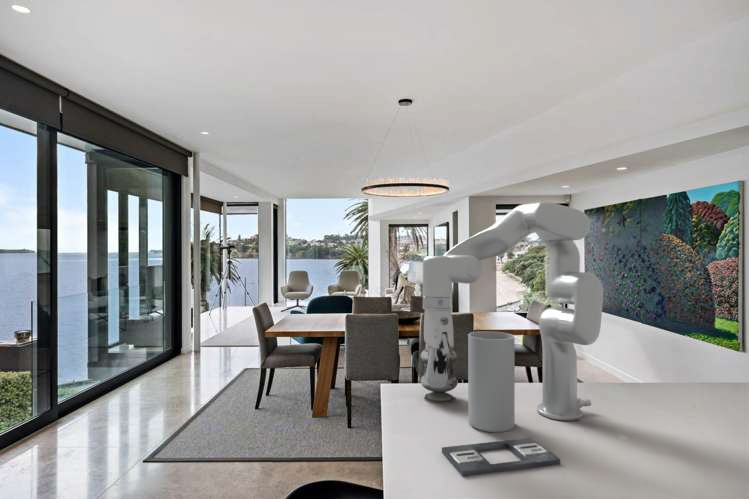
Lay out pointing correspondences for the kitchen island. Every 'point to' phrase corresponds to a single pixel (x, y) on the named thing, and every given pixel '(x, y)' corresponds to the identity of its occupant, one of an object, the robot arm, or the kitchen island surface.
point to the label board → (475, 464)
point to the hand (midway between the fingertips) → (437, 373)
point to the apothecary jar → (440, 393)
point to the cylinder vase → (491, 381)
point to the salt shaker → (435, 378)
